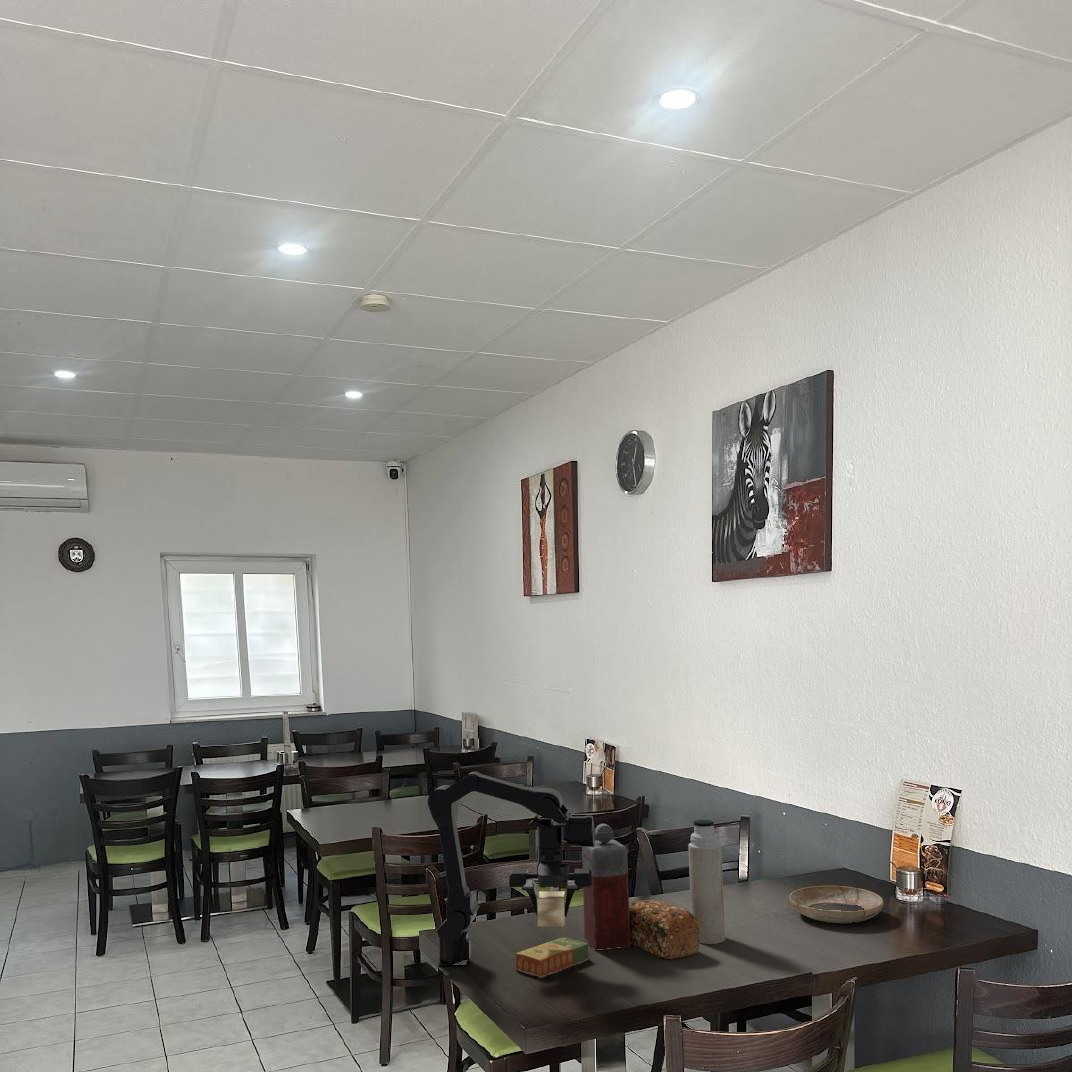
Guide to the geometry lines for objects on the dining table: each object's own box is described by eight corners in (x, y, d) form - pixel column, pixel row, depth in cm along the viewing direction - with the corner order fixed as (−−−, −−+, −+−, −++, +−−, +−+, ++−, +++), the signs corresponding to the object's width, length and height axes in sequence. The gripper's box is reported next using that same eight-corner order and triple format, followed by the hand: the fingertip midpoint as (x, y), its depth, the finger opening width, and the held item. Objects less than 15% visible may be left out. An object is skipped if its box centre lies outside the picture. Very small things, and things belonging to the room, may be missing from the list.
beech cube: (537, 926, 212) (537, 898, 213) (539, 918, 218) (539, 891, 219) (564, 926, 212) (563, 898, 213) (565, 918, 218) (564, 891, 219)
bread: (702, 954, 219) (700, 910, 220) (664, 963, 214) (662, 917, 215) (656, 933, 236) (654, 891, 237) (619, 940, 231) (618, 898, 232)
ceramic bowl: (781, 904, 257) (780, 885, 258) (868, 903, 256) (867, 884, 257) (801, 931, 234) (800, 910, 235) (897, 930, 233) (896, 909, 234)
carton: (514, 971, 211) (514, 952, 212) (563, 953, 223) (563, 935, 223) (541, 980, 206) (541, 959, 206) (590, 961, 217) (589, 942, 218)
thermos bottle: (725, 934, 233) (720, 817, 236) (725, 944, 225) (720, 824, 228) (692, 933, 235) (688, 817, 237) (691, 943, 227) (686, 823, 230)
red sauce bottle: (615, 933, 236) (612, 818, 239) (630, 947, 225) (626, 826, 228) (581, 936, 234) (578, 820, 237) (594, 951, 223) (591, 829, 226)
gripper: (506, 854, 210) (507, 927, 208) (590, 854, 208) (592, 927, 207) (511, 843, 221) (512, 912, 219) (590, 843, 219) (592, 912, 218)
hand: (551, 916), depth 215 cm, fingers closed on beech cube, 6 cm apart
